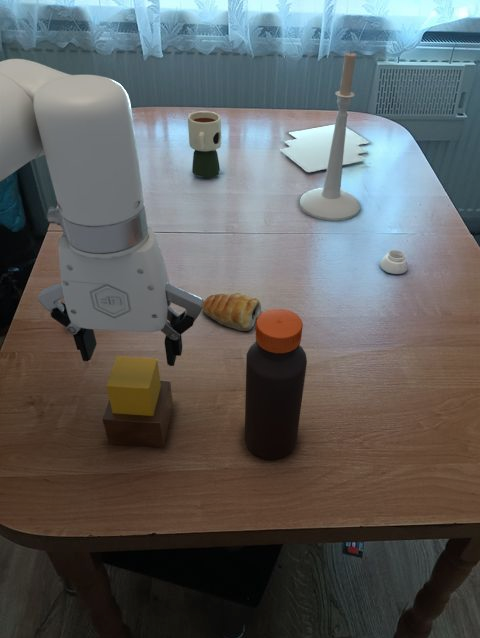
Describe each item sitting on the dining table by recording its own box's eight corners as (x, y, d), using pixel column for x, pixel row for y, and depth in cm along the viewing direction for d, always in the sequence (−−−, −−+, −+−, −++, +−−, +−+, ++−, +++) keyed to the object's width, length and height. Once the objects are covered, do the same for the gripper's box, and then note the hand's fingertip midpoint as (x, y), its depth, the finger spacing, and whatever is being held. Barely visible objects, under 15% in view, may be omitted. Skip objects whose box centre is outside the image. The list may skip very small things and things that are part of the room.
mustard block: (112, 413, 66) (106, 385, 62) (122, 383, 69) (116, 355, 66) (153, 416, 66) (149, 388, 62) (161, 386, 69) (157, 358, 66)
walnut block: (108, 444, 69) (102, 419, 65) (122, 402, 74) (116, 377, 70) (163, 448, 68) (159, 423, 65) (173, 406, 74) (170, 380, 70)
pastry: (195, 321, 86) (194, 302, 84) (211, 297, 91) (210, 278, 89) (250, 335, 85) (251, 316, 82) (263, 309, 89) (264, 291, 87)
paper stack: (260, 137, 140) (260, 135, 140) (340, 123, 149) (340, 121, 149) (307, 175, 125) (307, 172, 125) (392, 157, 135) (393, 154, 134)
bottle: (280, 412, 74) (290, 295, 60) (306, 448, 69) (324, 332, 56) (235, 429, 71) (235, 312, 57) (259, 468, 67) (266, 352, 53)
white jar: (398, 258, 102) (374, 262, 101) (401, 245, 100) (377, 249, 99) (412, 273, 99) (387, 277, 97) (415, 259, 97) (391, 264, 95)
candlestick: (333, 186, 122) (354, 38, 102) (371, 211, 115) (402, 56, 94) (287, 200, 117) (300, 46, 96) (325, 227, 109) (347, 66, 89)
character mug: (218, 186, 120) (217, 127, 111) (186, 184, 120) (182, 125, 111) (224, 165, 128) (224, 108, 119) (195, 163, 128) (192, 106, 119)
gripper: (-2, 240, 48) (46, 374, 60) (191, 250, 48) (201, 383, 59) (29, 199, 53) (67, 329, 65) (203, 208, 53) (210, 337, 65)
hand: (131, 355), depth 62 cm, fingers open, 9 cm apart
